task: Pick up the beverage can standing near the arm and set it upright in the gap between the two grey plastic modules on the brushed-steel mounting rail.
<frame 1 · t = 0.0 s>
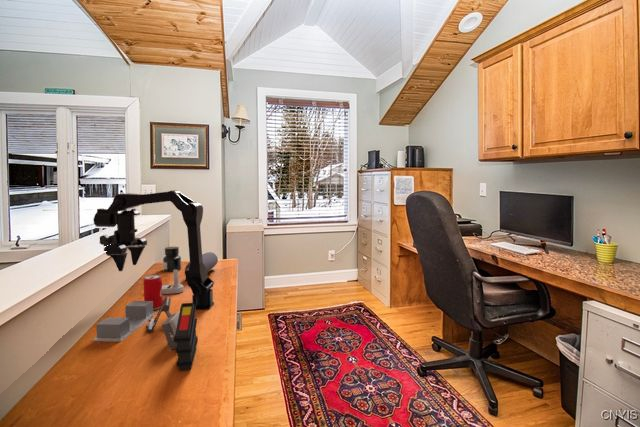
hand: (127, 268, 128), 15 cm above the table, tool pointing down, fingers open, 9 cm apart
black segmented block: (187, 362, 90), on the table
mounting rail: (127, 326, 111), on the table
beverage can: (153, 308, 127), on the table
electronic device: (165, 293, 145), on the table
mounted modules: (127, 317, 111), on the mounting rail, point 3 cm above the table
portable electronic device stand: (161, 326, 112), on the table
bluetooth speaker: (202, 275, 173), on the table
electrical switch: (178, 344, 100), on the table
ink bottle: (172, 270, 182), on the table
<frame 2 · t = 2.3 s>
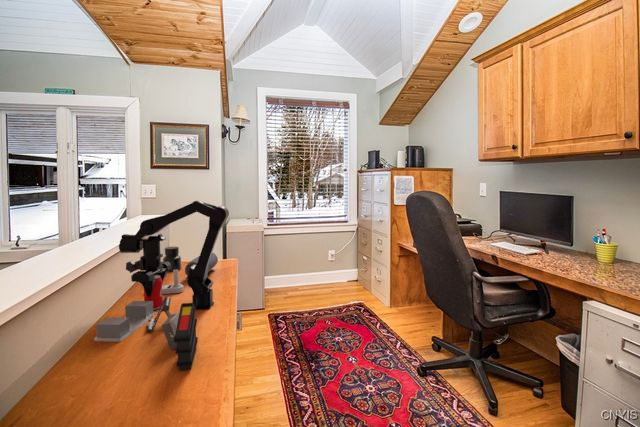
hand: (153, 293, 127), 6 cm above the table, tool pointing down, fingers closed on beverage can, 6 cm apart
beverage can: (153, 308, 127), on the table, touching gripper
everything else where it was.
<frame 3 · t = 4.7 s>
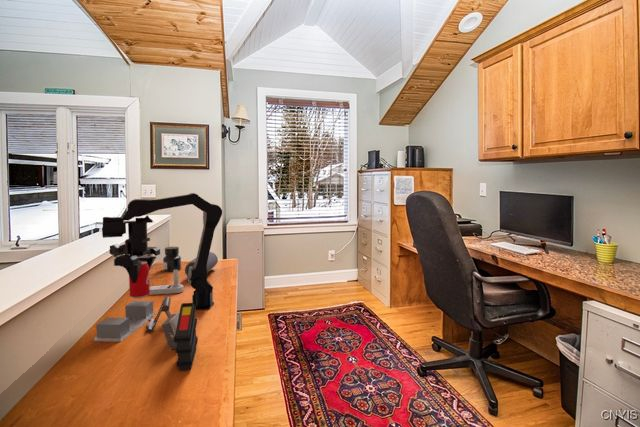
hand: (139, 280, 118), 13 cm above the table, tool pointing down, fingers closed on beverage can, 6 cm apart
beverage can: (140, 296, 118), point 7 cm above the table, touching gripper
everything else where it was.
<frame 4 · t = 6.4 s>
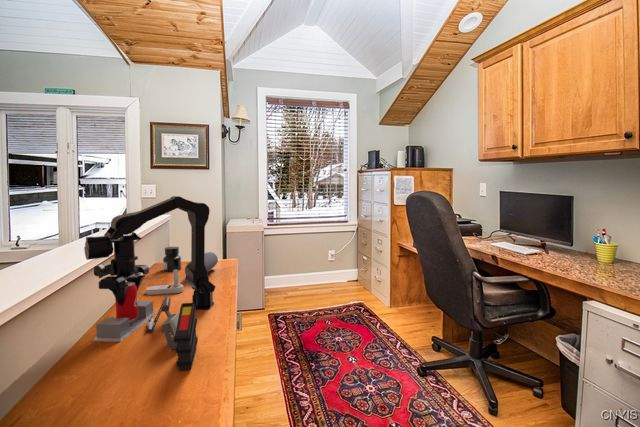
hand: (127, 301, 110), 8 cm above the table, tool pointing down, fingers closed on beverage can, 6 cm apart
beverage can: (127, 320, 111), point 2 cm above the table, touching gripper
everything else where it was.
when the fingers open (8 cm above the table, at t = 7.3 s): beverage can stays where it is, resting on mounting rail.
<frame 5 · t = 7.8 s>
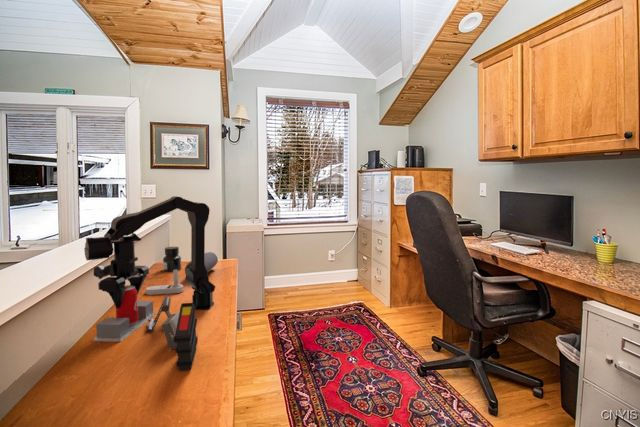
hand: (126, 302, 110), 8 cm above the table, tool pointing down, fingers open, 9 cm apart
beverage can: (127, 323, 111), point 1 cm above the table, touching mounting rail
everything else where it was.
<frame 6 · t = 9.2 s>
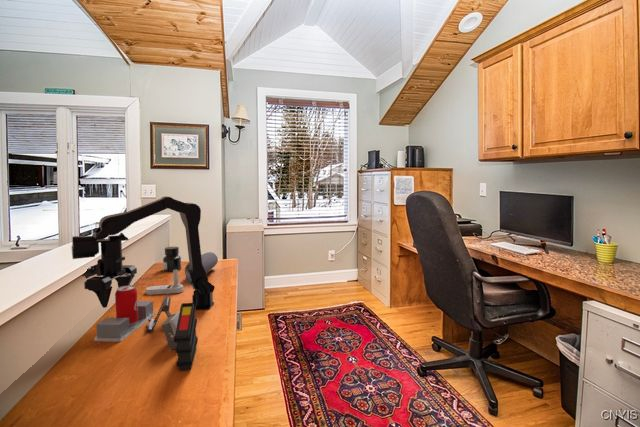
hand: (113, 302, 110), 8 cm above the table, tool pointing down, fingers open, 9 cm apart
nothing on the table moved.
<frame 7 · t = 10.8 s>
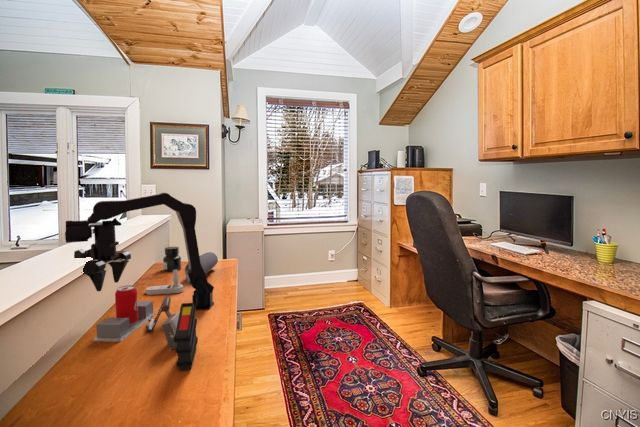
hand: (108, 286, 111), 13 cm above the table, tool pointing down, fingers open, 9 cm apart
nothing on the table moved.
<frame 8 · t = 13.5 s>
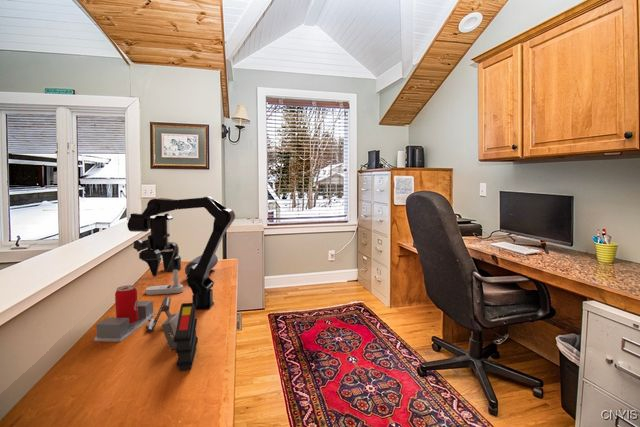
hand: (160, 272, 128), 13 cm above the table, tool pointing down, fingers open, 9 cm apart
nothing on the table moved.
at the end: beverage can 0.1 cm off-centre on the mounting rail, point 0.8 cm above the mounting rail's base; beverage can tilted 0°; the gripper is holding nothing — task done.
